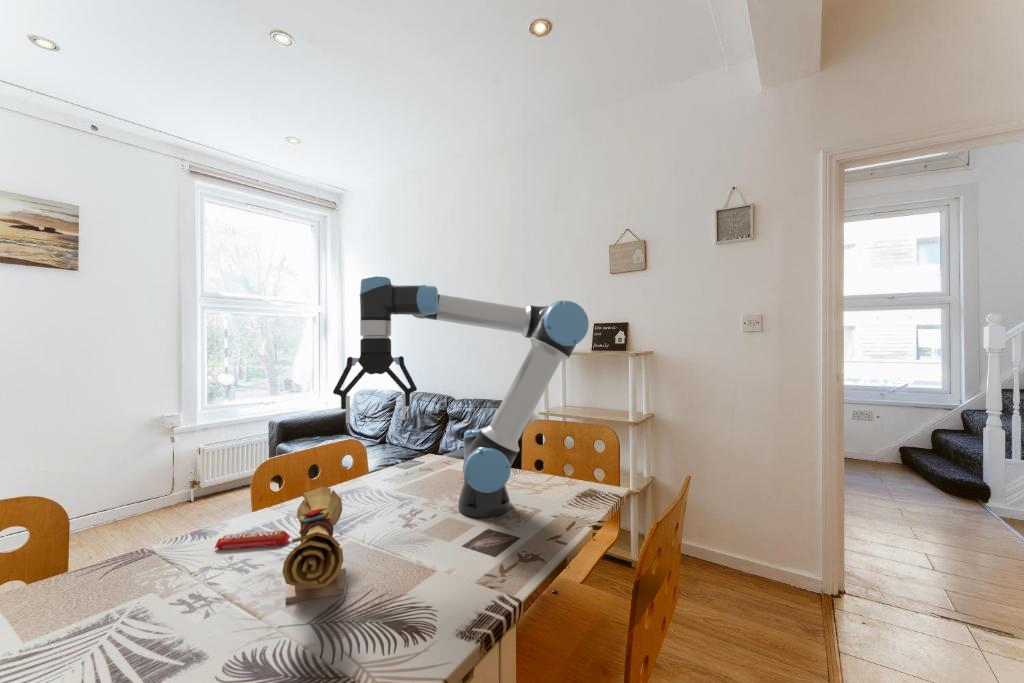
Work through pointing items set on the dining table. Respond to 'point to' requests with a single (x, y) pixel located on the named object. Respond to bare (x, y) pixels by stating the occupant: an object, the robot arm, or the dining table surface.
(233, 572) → the dining table surface
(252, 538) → the candy bar
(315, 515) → the scroll
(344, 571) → the ridge block
